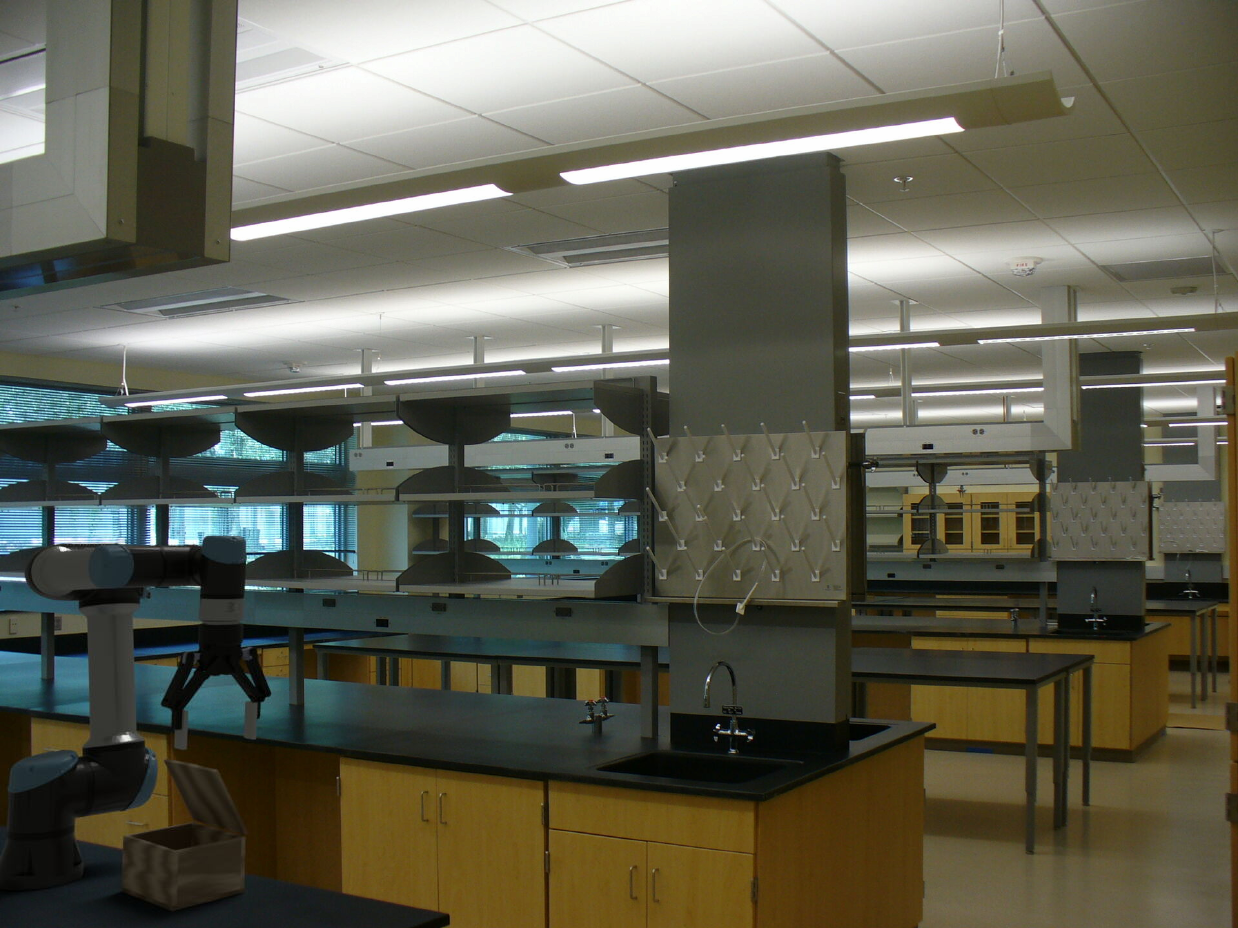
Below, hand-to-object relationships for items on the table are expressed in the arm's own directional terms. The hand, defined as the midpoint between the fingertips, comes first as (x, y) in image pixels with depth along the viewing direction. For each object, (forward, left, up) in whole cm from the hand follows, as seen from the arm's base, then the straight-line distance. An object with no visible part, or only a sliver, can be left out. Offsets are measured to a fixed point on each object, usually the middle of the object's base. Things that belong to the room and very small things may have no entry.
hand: (216, 743), depth 199 cm
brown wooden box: (-13, +2, -29) cm, 32 cm away
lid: (-13, +6, -12) cm, 19 cm away
